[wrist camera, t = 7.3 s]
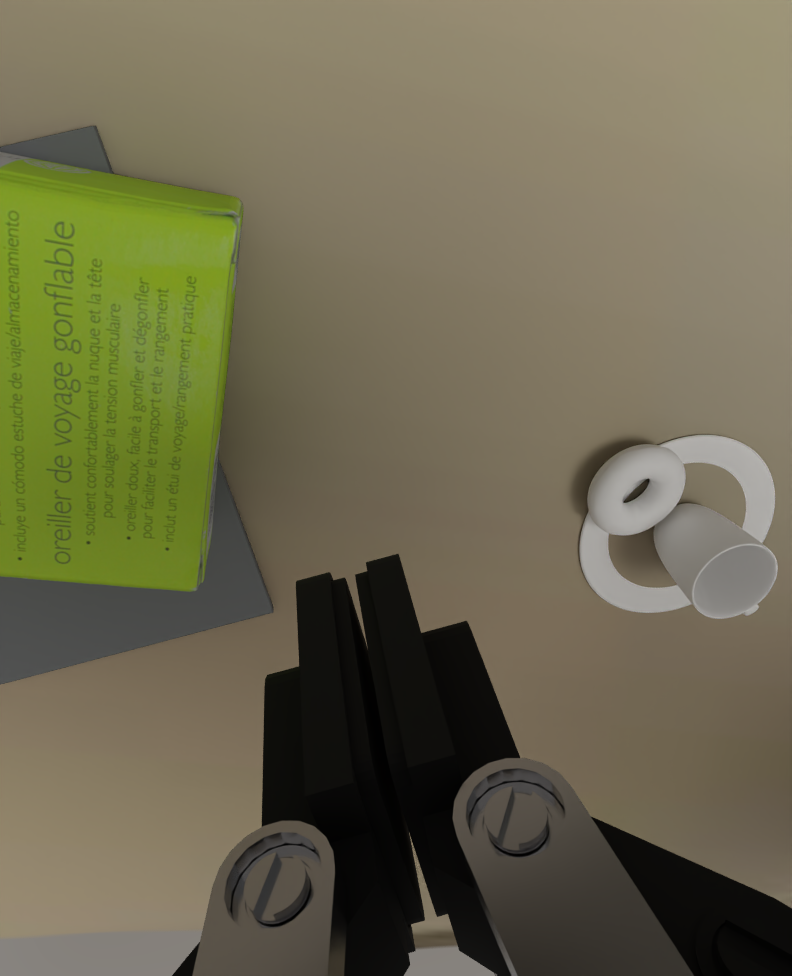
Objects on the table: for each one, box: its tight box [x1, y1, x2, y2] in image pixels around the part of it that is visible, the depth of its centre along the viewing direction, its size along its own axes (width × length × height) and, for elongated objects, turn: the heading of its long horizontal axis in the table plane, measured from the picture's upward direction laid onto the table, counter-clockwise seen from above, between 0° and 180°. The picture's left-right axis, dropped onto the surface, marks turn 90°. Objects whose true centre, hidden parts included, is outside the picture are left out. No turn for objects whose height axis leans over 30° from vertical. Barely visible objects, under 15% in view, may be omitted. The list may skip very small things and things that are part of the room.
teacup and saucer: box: [579, 435, 778, 619], centre depth 25 cm, size 9×8×4 cm
